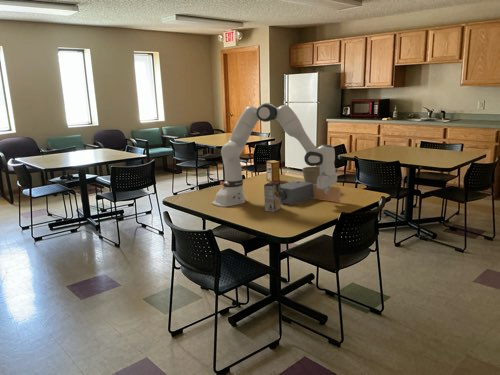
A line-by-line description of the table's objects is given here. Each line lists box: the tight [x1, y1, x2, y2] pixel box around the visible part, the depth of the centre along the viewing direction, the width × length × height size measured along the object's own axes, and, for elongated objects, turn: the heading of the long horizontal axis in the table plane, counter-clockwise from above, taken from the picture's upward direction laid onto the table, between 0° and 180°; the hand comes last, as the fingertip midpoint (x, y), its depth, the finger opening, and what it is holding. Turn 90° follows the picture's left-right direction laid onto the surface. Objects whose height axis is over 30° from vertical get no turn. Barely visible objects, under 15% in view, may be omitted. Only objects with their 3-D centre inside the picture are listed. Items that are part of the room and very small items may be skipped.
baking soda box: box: [265, 160, 281, 183], centre depth 319 cm, size 10×6×16 cm
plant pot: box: [301, 166, 320, 184], centre depth 284 cm, size 15×15×16 cm
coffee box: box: [263, 182, 282, 213], centre depth 242 cm, size 9×6×16 cm
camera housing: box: [280, 180, 314, 206], centre depth 262 cm, size 24×14×11 cm, turn 135°
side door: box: [312, 184, 341, 203], centre depth 258 cm, size 20×2×9 cm, turn 48°
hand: (326, 193), depth 251 cm, fingers closed
